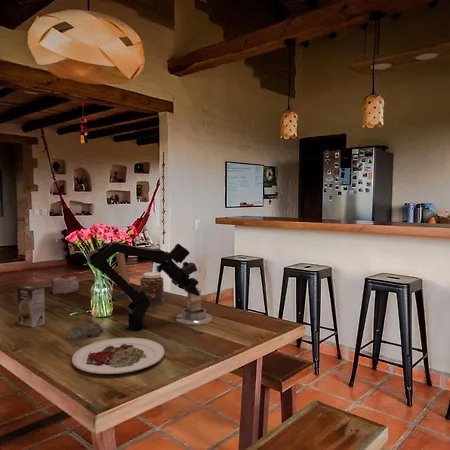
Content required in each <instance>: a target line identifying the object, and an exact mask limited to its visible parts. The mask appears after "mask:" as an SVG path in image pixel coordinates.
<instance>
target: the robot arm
mask: <svg viewBox="0 0 450 450" xmlns="http://www.w3.org/2000/svg"><path fill="white" fill-rule="evenodd" d="M116 252H119V253H123V254H124V255H130V256H133V257H138V258H142V259H146V260H148V261H150V262H153V263H155V264H157V265H156V273H160V274H161V273H162V271H163V272H164V273H165V274H166V275H167V277H168V278H169V279H171V283H172V284H173V285H174V286H175V287H178V288H179V289H181V290H183V291H184V292H186V293H187V294H188V293H191V294H194V295H196V296H199V295H200V294H199V292H198V290H197V288H198V287H197V286H198V284H199V281H198V280H197V279H196V278H195V277H191V274H193V273H195V272H197V271H198V268H197V266H196V263H194V262H187V261H185V259H186V258H187V257H188V256H189V255H190V253H191V252H190V251H189V250H188V249H187V248H185V247H184V246H182V244H180V243H176V244H175V245H174V247H173V248H172V249H171V250H170V251H164V250H163V249H159V248H154V247H153V248H152V247H151V248H150V247H149V248H145V247H143V248H142V247H137V246H134V245H130V244H125V243H121V242H117V241H114V240H113V241H111V242H109V243H108V244H106V245H104V246H101V247H100V248H97V249H94V250H91V251H89V252H88V253H87V255H86V261H87V262H88V263H89V264H90V265H91V266H93V267H94V268H95V269H96V270H98V271H100V272H102V273H103V274H104V275H106V276H107V277H108V278H109V279H110V280H111V281H112V282H113V283H114V284H115V285H116V286H117V287H118V288H119V289H120V290H121V291H123V292H124V293H125V294H126V295H127V296H128V298H129V299H128V300H129V301H130V303H129V304H127V306H126V309H127V311H128V312H129V313H128V315H127V317H128V318H127V321H128V325H127V326H126V327H125V330H130V331H134V332H135V331H136V332H139V331H141V330H143V329H145V328H147V327H148V324H147V325H146V324H145V315H146V313H147V310H148V308H149V307H150V306H149V305H150V301H149V299H148V298H149V297H148V296H147V295H146V294H144V292H143V291H142V290H141V289H139V288H138V289H137V290H135V289H133V288H134V287H133V286H131V284H130V285H129V284H128V283H127V282H126V281H125V280H124V279H123V278H122V277H121V276H120V273H119V272H117V270H115V269H114V268H113V267H112V266H111V264H110V263H109V261H108V259H110V258H111V257H112V256H113V255H114V254H115V255H116ZM183 261H184V262H183ZM178 263H180V264H182V266H181V267H180V266H179V265H178Z"/></svg>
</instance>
